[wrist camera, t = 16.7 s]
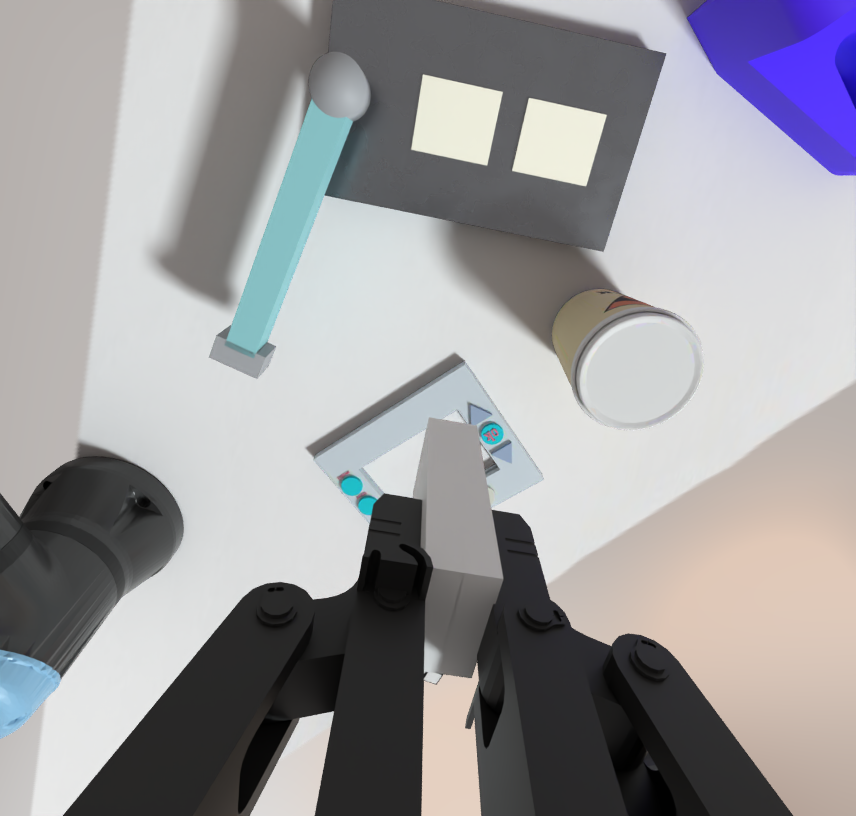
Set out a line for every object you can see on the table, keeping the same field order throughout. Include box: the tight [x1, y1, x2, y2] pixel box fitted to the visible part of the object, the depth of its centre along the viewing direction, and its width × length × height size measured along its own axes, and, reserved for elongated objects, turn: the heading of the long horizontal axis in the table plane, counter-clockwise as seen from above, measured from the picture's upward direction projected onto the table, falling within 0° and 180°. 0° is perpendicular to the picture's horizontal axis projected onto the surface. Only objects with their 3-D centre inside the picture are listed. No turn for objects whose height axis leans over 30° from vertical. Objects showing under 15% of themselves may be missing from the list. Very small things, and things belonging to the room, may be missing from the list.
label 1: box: [411, 74, 503, 166], centre depth 39 cm, size 6×5×1 cm
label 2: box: [512, 98, 607, 186], centre depth 39 cm, size 6×5×1 cm
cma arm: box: [209, 52, 371, 379], centre depth 38 cm, size 23×4×3 cm, turn 153°
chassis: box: [325, 0, 666, 252], centre depth 39 cm, size 24×14×4 cm, turn 79°
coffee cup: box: [552, 289, 704, 430], centre depth 42 cm, size 9×9×12 cm
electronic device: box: [313, 361, 544, 524], centre depth 53 cm, size 18×2×15 cm
